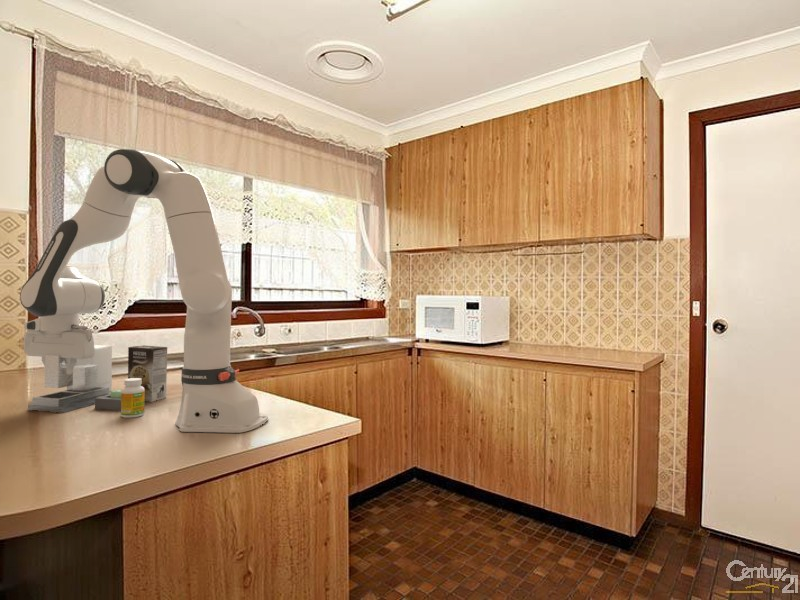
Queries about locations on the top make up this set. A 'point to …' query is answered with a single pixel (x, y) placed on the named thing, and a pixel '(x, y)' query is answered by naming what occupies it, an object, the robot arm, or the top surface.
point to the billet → (56, 372)
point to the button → (115, 394)
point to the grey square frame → (108, 403)
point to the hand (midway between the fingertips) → (59, 373)
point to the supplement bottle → (132, 398)
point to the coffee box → (149, 369)
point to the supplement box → (100, 365)
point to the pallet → (73, 392)
